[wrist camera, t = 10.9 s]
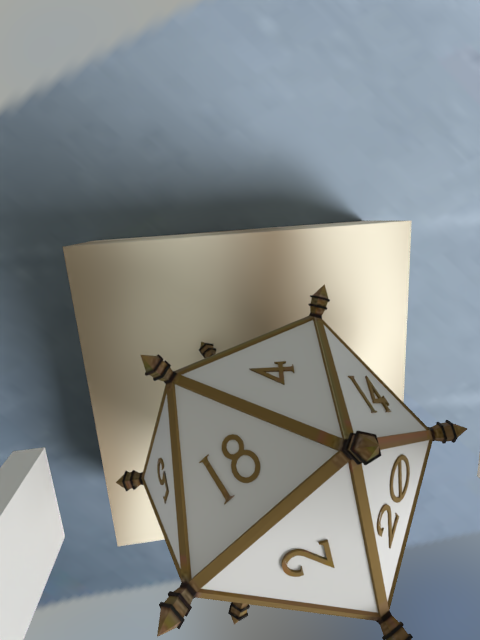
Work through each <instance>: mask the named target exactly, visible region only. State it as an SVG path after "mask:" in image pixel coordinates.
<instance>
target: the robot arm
mask: <svg viewBox="0 0 480 640" xmlns="http://www.w3.org/2000/svg"><path fill="white" fill-rule="evenodd" d="M477 476H478V477H479V478H480V454H479V464H478V473H477ZM64 538H65V535H64V530H63V526H62V521H61V517H60V512H59V508H58V504H57V499H56V495H55V490H54V486H53V481H52V477H51V472H50V468H49V464H48V459H47V455H46V450H45V447H44V448H36V449H28V450H20V451H13V452H12V454H11V455H10V456H9V457H8V459H7V460H6V461H5V463H4V464H3V465H2V466H1V468H0V640H23V639H24V637H25V634H26V632H27V629H28V627H29V624H30V622H31V619H32V617H33V614H34V612H35V610H36V607H37V605H38V602H39V600H40V597H41V595H42V592H43V590H44V587H45V585H46V582H47V580H48V577H49V575H50V572H51V570H52V567H53V565H54V562H55V560H56V557H57V555H58V552H59V550H60V547H61V545H62V543H63V540H64Z"/></svg>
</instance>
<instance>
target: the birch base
mask: <svg viewBox="0 0 480 640" xmlns="http://www.w3.org/2000/svg"><path fill="white" fill-rule="evenodd" d="M410 242H411V221H354V222H340V223H327V224H313V225H300V226H286V227H272V228H259V229H245V230H232V231H218V232H205V233H191V234H178V235H164V236H151V237H137V238H124V239H110V240H97V241H89V242H85V243H80V244H75V245H70V246H65V247H63V251H64V257H65V262H66V268H67V273H68V279H69V284H70V289H71V295H72V300H73V306H74V311H75V317H76V322H77V327H78V333H79V338H80V344H81V349H82V355H83V360H84V365H85V371H86V376H87V382H88V387H89V393H90V398H91V403H92V409H93V414H94V420H95V425H96V431H97V436H98V441H99V447H100V452H101V458H102V463H103V469H104V474H105V479H106V485H107V490H108V496H109V501H110V507H111V512H112V517H113V523H114V528H115V534H116V539H117V545H118V546H124V545H131V544H137V543H144V542H150V541H157V540H164V539H165V538H164V536H163V533H162V531H161V528H160V526H159V523H158V520H157V518H156V515H155V513H154V510H153V508H152V505H151V503H150V500H149V497H148V495H147V492H146V490H145V487H144V485H140V486H138V487H137V488H136V489H135V490H133V488H132V489H129V490H128V491H126V490H125V488H123V487H121V486H120V485H118V484H117V483H116V482H117V481H118V480H119V479H120V478H121V477H122V476H123V475H124V473H125V471H128V472H132V470H135V471H137V472H139V473H141V472H143V470H144V466H145V462H146V458H147V454H148V450H149V447H150V443H151V439H152V435H153V431H154V427H155V423H156V419H157V416H158V412H159V408H160V404H161V400H162V396H163V392H164V389H165V385H166V384H165V383H164V382H163V381H160V380H156V381H154V380H153V377H152V376H150V375H148V376H146V375H145V372H146V371H145V368H144V364H143V361H142V358H141V355H151V356H157V355H158V354H159V355H160V356H161V357H162V358H163V361H165V360H166V361H167V362H168V363H169V364H170V365H171V366H170V368H171V369H172V370H173V371H176V370H178V369H180V368H183V367H185V366H188V365H190V364H193V363H195V362H197V361H200V360H202V359H205V358H204V357H203V356H202V354H201V353H200V351H199V349H200V346H201V342H204V343H210V344H213V345H214V346H213V347H214V348H216V354H217V353H219V352H222V351H224V350H227V349H229V348H231V347H234V346H236V345H239V344H241V343H243V342H246V341H248V340H251V339H253V338H256V337H258V336H260V335H263V334H265V333H268V332H270V331H273V330H275V329H277V328H280V327H282V326H285V325H287V324H290V323H292V322H294V321H297V320H299V319H302V318H304V317H307V316H309V314H310V306H309V305H308V304H309V303H311V299H312V297H310V295H313V294H314V293H316V292H317V291H318V290H319V289H320V288H321V287H322V286H323V285H324V284H325V288H326V291H327V295H328V299H330V302H328V303H327V306H326V307H327V310H325V311H324V313H323V314H322V319H323V320H324V321H325V322H326V323H327V325H328V326H329V327H330V328H331V329H332V330H333V331H334V332H335V333H336V334H337V335H338V336H339V337H340V338H341V339H342V340H343V341H344V342H345V343H346V344H347V345H348V346H349V347H350V348H351V349H352V350H353V351H354V352H355V353H356V354H357V355H358V356H359V357H360V358H361V359H362V361H363V362H364V363H365V364H366V365H367V366H368V367H369V368H370V369H371V370H372V371H373V372H374V373H375V374H376V375H377V376H378V377H379V378H380V379H381V380H382V381H383V382H384V383H385V384H386V385H387V386H388V387H389V388H390V389H391V390H392V391H393V392H394V393H395V394H396V396H397V397H398V398H399V399H400V400H401V401H402V402H403V398H404V376H405V354H406V331H407V309H408V287H409V264H410Z"/></svg>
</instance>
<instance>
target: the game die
mask: <svg viewBox="0 0 480 640" xmlns="http://www.w3.org/2000/svg"><path fill="white" fill-rule="evenodd" d="M310 297H312V299H311V303H309V304H308V305H309V306H310V314H309V316H307V317H304V318H302V319H299V320H297V321H294V322H292V323H290V324H287V325H285V326H282V327H280V328H277V329H275V330H273V331H270V332H268V333H265V334H263V335H260V336H258V337H256V338H253V339H251V340H248V341H246V342H243V343H241V344H239V345H236V346H234V347H231V348H229V349H227V350H224V351H222V352H219V353H217V354H216V348H214V347H213V346H214V345H213V344H210V343H204V342H201V346H200V349H199V351H200V353H201V354H202V356H203V357H204V358H205V359H202V360H200V361H197V362H195V363H193V364H190V365H188V366H185V367H183V368H180V369H178V370H176V371H173V370H172V369H171V368H170V366H171V365H170V364H169V363H168V362H167V361H166V360H165V361H163V358H162V357H161V356H160V355H159V354H158V355H157V356H151V355H141V358H142V361H143V364H144V368H145V371H146V372H145V375H146V376H148V375H150V376H152V377H153V380H154V381H156V380H160V381H163V382H164V383H165V384H166V385H165V389H164V392H163V396H162V400H161V404H160V408H159V412H158V416H157V419H156V423H155V427H154V431H153V435H152V439H151V443H150V447H149V450H148V454H147V458H146V462H145V466H144V470H143V472H141V473H139V472H137V471H135V470H132V472H128V471H125V473H124V475H123V476H122V477H121V478H120V479H119V480H118V481H117V482H116V483H117V484H118V485H120V486H121V487H123V488H125V490H126V491H128V490H129V489H132V488H133V490H135V489H136V488H137V487H138V486H140V485H144V487H145V490H146V492H147V495H148V497H149V500H150V503H151V505H152V508H153V510H154V513H155V515H156V518H157V520H158V523H159V526H160V528H161V531H162V533H163V536H164V538H165V541H166V543H167V546H168V549H169V551H170V554H171V556H172V559H173V561H174V564H175V566H176V569H177V572H178V574H179V577H180V579H181V582H182V583H181V585H180V587H179V588H178V589H177V590H175V591H174V592H171V591H170V592H169V593H168V596H169V597H168V598H167V600H166V601H165V602H164V603H163V602H161V603H160V604H159V606H160V608H161V612H160V620H159V627H158V635H157V636H160V635H162V634H164V633H166V632H168V631H170V630H172V629H174V628H176V627H177V628H178V629H180V627H181V625H182V623H183V622H184V618H183V617H184V616H187V615H188V613H189V611H190V610H191V608H192V607H191V606H190V604H191V602H192V599H193V598H195V597H197V598H205V599H213V600H220V601H228V602H232V603H231V605H230V609H229V614H230V615H231V617H232V620H233V622H234V624H235V623H237V622H238V621H240V620H241V619H243V618H245V617H247V616H248V613H247V609H248V608H249V607H250V606H249V604H251V605H259V606H266V607H274V608H282V609H289V610H297V611H305V612H313V613H320V614H328V615H336V616H344V617H351V618H359V619H366V620H375V621H377V622H378V623H379V624H380V626H381V629H382V632H383V635H384V636H383V637H382V638H383V640H411V638H413V637H412V636H411V634H407V632H406V631H405V630H404V628H403V627H402V626H403V623H402V622H398V621H397V620H396V619H395V618H394V617H393V616H392V615H391V613H390V611H389V609H390V605H391V601H392V597H393V593H394V589H395V585H396V582H397V578H398V574H399V570H400V566H401V562H402V558H403V554H404V550H405V546H406V542H407V538H408V535H409V531H410V527H411V523H412V519H413V515H414V511H415V507H416V503H417V499H418V495H419V491H420V487H421V483H422V480H423V476H424V472H425V468H426V464H427V460H428V456H429V452H430V448H431V444H432V441H442V443H446V441H452V442H453V443H454V442H455V441H456V439H457V437H459V436H460V435H461V434H462V433H463V432H464V431H465V430H467V428H464V427H461V426H458V425H456V424H453V423H451V422H450V421H448V420H446V423H439V422H437V425H435V426H433V427H427V426H426V425H425V424H424V423H423V422H422V421H421V420H420V419H419V418H418V417H417V416H416V415H415V414H414V413H413V412H412V411H411V410H410V409H409V408H408V407H407V406H406V405H405V404H404V403H403V402H402V401H401V400H400V399H399V398H398V397H397V396H396V394H395V393H394V392H393V391H392V390H391V389H390V388H389V387H388V386H387V385H386V384H385V383H384V382H383V381H382V380H381V379H380V378H379V377H378V376H377V375H376V374H375V373H374V372H373V371H372V370H371V369H370V368H369V367H368V366H367V365H366V364H365V363H364V362H363V361H362V359H361V358H360V357H359V356H358V355H357V354H356V353H355V352H354V351H353V350H352V349H351V348H350V347H349V346H348V345H347V344H346V343H345V342H344V341H343V340H342V339H341V338H340V337H339V336H338V335H337V334H336V333H335V332H334V331H333V330H332V329H331V328H330V327H329V326H328V325H327V323H326V322H325V321H324V320H323V319H322V314H323V313H324V311H325V310H327V307H326V306H327V303H328V302H330V299H328V295H327V291H326V288H325V284H324V285H323V286H322V287H321V288H320V289H319V290H318V291H317V292H316V293H314V294H313V295H310Z"/></svg>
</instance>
